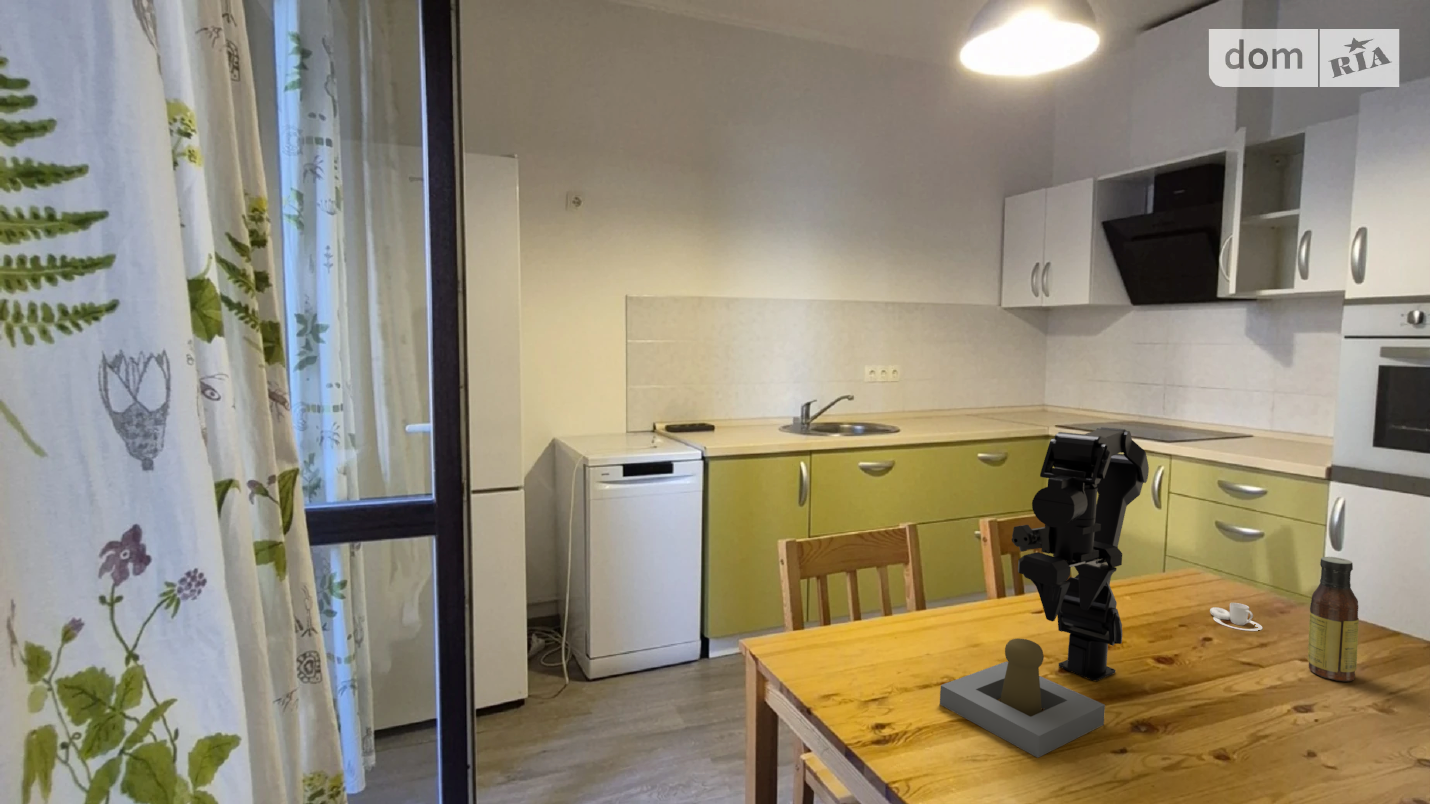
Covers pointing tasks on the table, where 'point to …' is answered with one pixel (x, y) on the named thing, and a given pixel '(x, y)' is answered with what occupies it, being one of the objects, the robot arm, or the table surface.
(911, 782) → the table surface
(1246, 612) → the teacup and saucer
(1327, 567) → the sauce bottle
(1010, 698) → the brown pawn
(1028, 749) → the socket plate
